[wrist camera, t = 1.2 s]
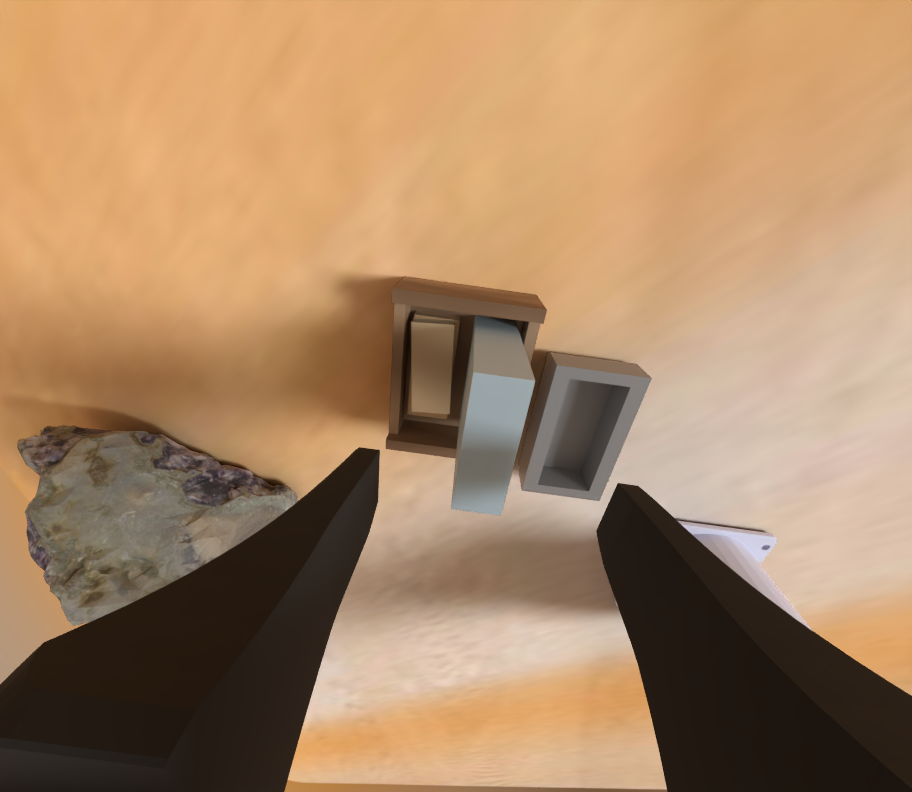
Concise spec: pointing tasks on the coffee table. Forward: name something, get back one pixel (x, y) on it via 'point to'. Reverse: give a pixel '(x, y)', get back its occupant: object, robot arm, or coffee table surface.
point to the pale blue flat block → (491, 415)
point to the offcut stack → (432, 363)
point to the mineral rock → (133, 514)
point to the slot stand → (579, 424)
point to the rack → (465, 304)
